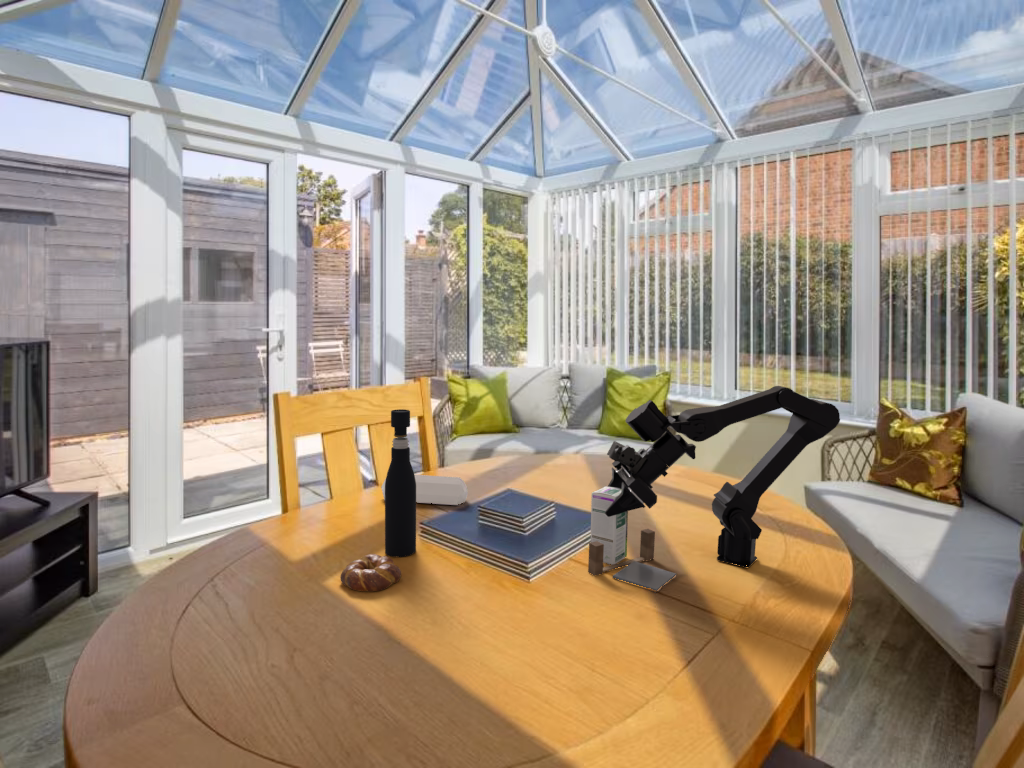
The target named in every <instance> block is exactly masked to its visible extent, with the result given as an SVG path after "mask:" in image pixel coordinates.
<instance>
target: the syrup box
mask: <svg viewBox="0 0 1024 768" xmlns="http://www.w3.org/2000/svg"><path fill="white" fill-rule="evenodd" d="M621 490H622V489H620V488H615V487H607V486H606V485H605V486H603V487H602V488H600V489H597V490H595V491H593V492H591V501H590V503H591V504H590V508H591V509H590V511H591V512H590V543H591V542H595V541H598V542H600V543H602V544H604V552H603V564H606V563H607V564H606V565H610V564H611V565H613V564H617V563H621V561H623V560H624V559H626V558H627V557H628V524H629V523H628V522H629V521H628V520H629V517H628V516H629V511H627V512H623V513H620V514H617V515H613V516H610V517H608V516H607V515H606V514H605V512H606V510H607V509H608V508H609V507H610V505H611V504H612V503H613V502H614V501H615V499H616V498H617V497H618V496H619V495H620V493H621ZM625 557H626V558H625Z"/></svg>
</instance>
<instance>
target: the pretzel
mask: <svg viewBox="0 0 1024 768" xmlns="http://www.w3.org/2000/svg"><path fill="white" fill-rule="evenodd" d="M401 576H402V570H401V569H400V567H399V566H398V565H396V564H395V562H394V560H393V558H391V556H388V555H387V556H386V555H379V554H376V553H369V554H366V555H365V554H364V555H363V556H362V557H360V558H358V559H355V560H353V561H351V562H349V563H348V564H347V565H346V567H345V568H344V569H343V570H342V572H341V573H340V582H341V584H342V585H343V586H345V587H348V588H349V589H351V590H353V591H355V592H356V591H358V592H379V591H383V590H386V589H387V588H388V587H390V586H391V585H393V584H396V583H397V582H399V580H400V579H401Z"/></svg>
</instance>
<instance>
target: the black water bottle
mask: <svg viewBox="0 0 1024 768" xmlns="http://www.w3.org/2000/svg"><path fill="white" fill-rule="evenodd" d="M390 427H391V428H394V432H393V436H394V438H393V439H392V447H391V451H390V453H391V458H390V459H391V460H390V463H389V466H388V470H387V473H386V476H385V479H386V482H385V500H384V552H385V554H386V555H387V556H388V557H392V558H405V557H409V556H412V555H414V554H415V553H416V551H417V503H416V481H415V476H414V475H415V471H414V469H413V466H412V463H411V459H410V456H411V451H410V450H411V448H410V446H409V442H410V441H409V438H408V437H407V436H408V434H407V433H408V428H410V427H411V411H410V410H409V409H404V408H403V409H391V411H390Z"/></svg>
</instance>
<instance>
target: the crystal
mask: <svg viewBox="0 0 1024 768" xmlns="http://www.w3.org/2000/svg"><path fill="white" fill-rule="evenodd" d="M414 476H415V481H416V502H417V503H420V504H431V503H432V504H433V505H435V504H436V505H451V506H459V505H458V504H461V503H463V502H464V503H465V502H466V501H467V497H468V487H467V485H466V482H465V481H464V480H463V479H462V478H461V477H458V476H444V475H443V476H442V475H429V474H428V475H426V474H425V475H424V474H423V475H422V474H414ZM385 482H386V478H385V479H384V481H383V483H382V485H381V487H380V488H381V491H382V495H383V500H384V501H385ZM417 503H416V504H417ZM464 503H463V504H464Z"/></svg>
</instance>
